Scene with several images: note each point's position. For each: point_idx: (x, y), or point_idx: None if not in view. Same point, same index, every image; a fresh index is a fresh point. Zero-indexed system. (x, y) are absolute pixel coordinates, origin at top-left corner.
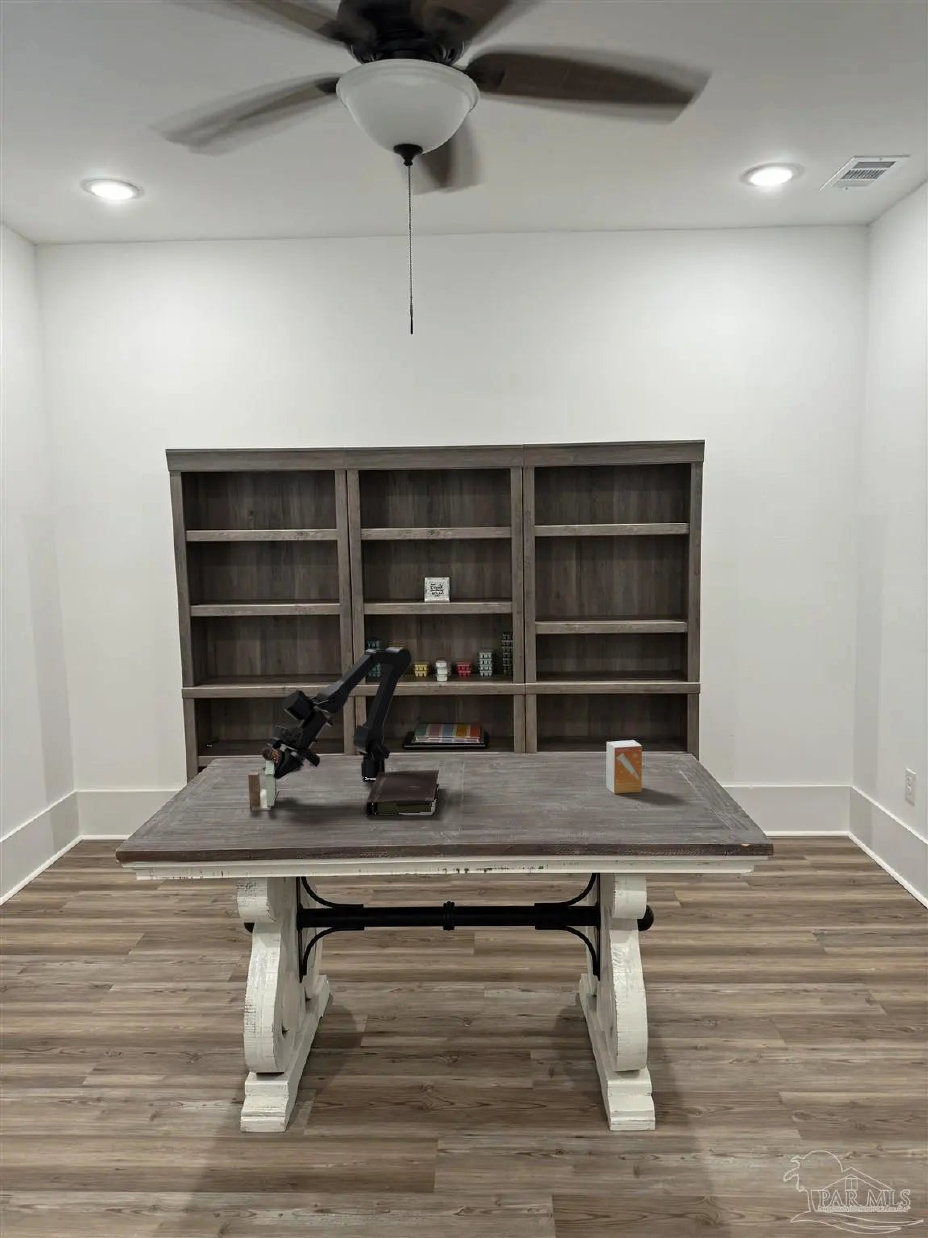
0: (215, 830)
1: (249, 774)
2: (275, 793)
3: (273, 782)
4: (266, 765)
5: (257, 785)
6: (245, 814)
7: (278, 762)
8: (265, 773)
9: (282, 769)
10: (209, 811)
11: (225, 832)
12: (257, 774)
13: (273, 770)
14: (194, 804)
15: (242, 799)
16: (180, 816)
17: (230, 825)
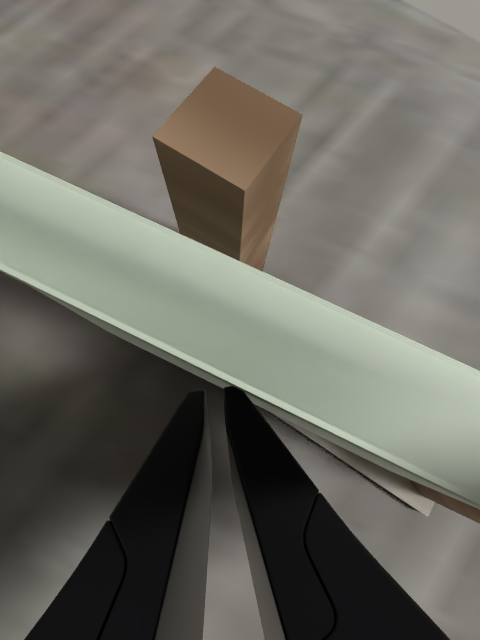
0: (56, 44)
1: (222, 79)
2: (347, 453)
3: (157, 350)
4: (408, 342)
5: (177, 209)
6: (151, 197)
7: (322, 541)
8: (34, 171)
9: (128, 497)
10: (301, 103)
11: (2, 61)
12: (159, 137)
13: (171, 355)
14: (434, 92)
15: (385, 273)
16: (312, 13)
17: (64, 101)
